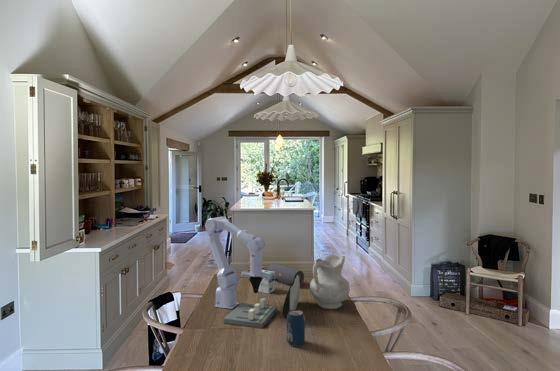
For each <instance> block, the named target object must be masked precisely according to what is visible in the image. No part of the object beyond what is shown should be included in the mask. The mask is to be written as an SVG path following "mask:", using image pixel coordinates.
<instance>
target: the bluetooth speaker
mask: <svg viewBox="0 0 560 371" xmlns="http://www.w3.org/2000/svg"><path fill="white" fill-rule="evenodd" d="M267 271H272V272H275V280H277V281H278V282H279V283H281V282H282V283H281V284H285V285H288V286H291V285H292V283H293V280H294V279H295V277H296V276H297V275H298V276H299V285H300V286H301V285H302V283H303V282H304V281H305V275H304V274H305V273H304V272H303V270H301V269H298V268H295V267H292V266H288V265H284V264H279V263H271V264H270V265H269V267H268V269H267Z"/></svg>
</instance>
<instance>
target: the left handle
mask: <svg viewBox="0 0 560 371" xmlns="http://www.w3.org/2000/svg"><path fill="white" fill-rule="evenodd" d="M266 301H267V300H266V298H264V297H262V298H260V299H259V304H261V308H264V307H265V306H267V302H266Z"/></svg>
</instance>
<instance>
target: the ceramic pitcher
mask: <svg viewBox="0 0 560 371" xmlns="http://www.w3.org/2000/svg"><path fill="white" fill-rule="evenodd" d="M345 259H346V256H345V255H341V258H340V256H338V255H335V254H329V255H327V256H326V257H325V258H324V259H321V258H317V259H316V260H314V261H315V262H314V264H313V265H312V276H313V278H312V279H311V281H310V283H309V290H310V293H311V295H312V297H313V298H314V299H315V300H316V301H317V302H318V305H317V306H318V307H319V308H323V309H324V310H325V309H326V310H336V309H340V307H342V306H343V305H344V304H343V302H344V301H345V300H346V299H347V298H348V297H349V294H350V289H351V286H350V282H349V281H348V280H347V279H346V278H345V277H343V274H342V269H343V268H344V265H345V262H346V260H345Z"/></svg>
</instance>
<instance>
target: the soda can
mask: <svg viewBox="0 0 560 371" xmlns="http://www.w3.org/2000/svg"><path fill="white" fill-rule="evenodd" d="M305 324H306V323H305V315H304V312H303V310H300V309H296V310H290V311H289V312H288V315H286V341H287V343H288V345H289V346H292V347H300V346H302V345H303V344H304V342H305V340H306V339H305V338H306V337H305V336H306V335H305V334H306V332H305V331H306V330H305V328H306V326H305Z"/></svg>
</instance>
